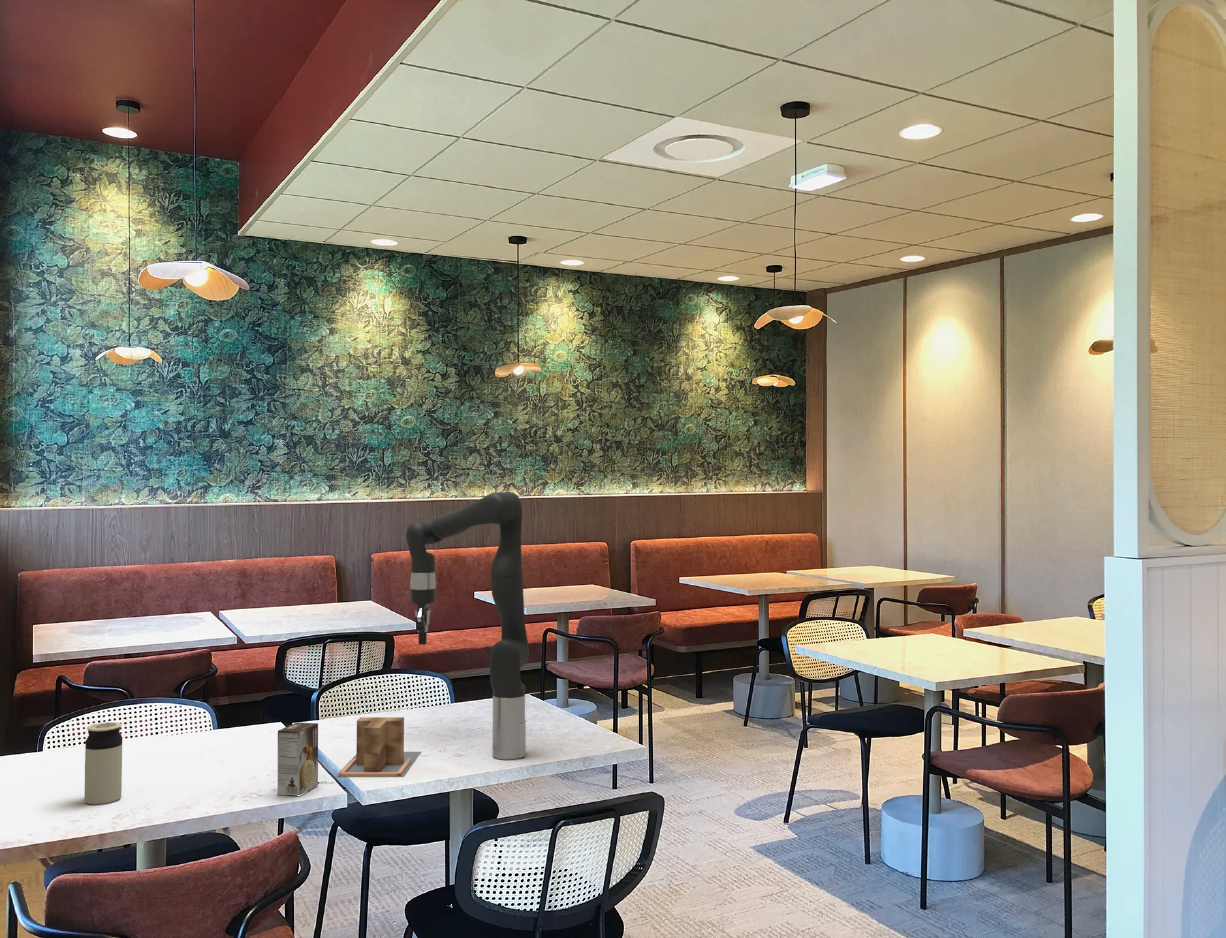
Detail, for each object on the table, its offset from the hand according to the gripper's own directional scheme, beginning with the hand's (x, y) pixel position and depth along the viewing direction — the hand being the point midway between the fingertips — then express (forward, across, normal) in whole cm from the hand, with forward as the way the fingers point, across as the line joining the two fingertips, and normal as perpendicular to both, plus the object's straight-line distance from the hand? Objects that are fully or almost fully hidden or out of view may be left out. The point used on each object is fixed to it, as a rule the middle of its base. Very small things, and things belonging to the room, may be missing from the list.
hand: (422, 644), depth 293 cm
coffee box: (+29, -50, +22) cm, 62 cm away
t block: (+28, -33, +6) cm, 44 cm away
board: (+29, -30, +6) cm, 42 cm away
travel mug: (+29, -57, +67) cm, 93 cm away
